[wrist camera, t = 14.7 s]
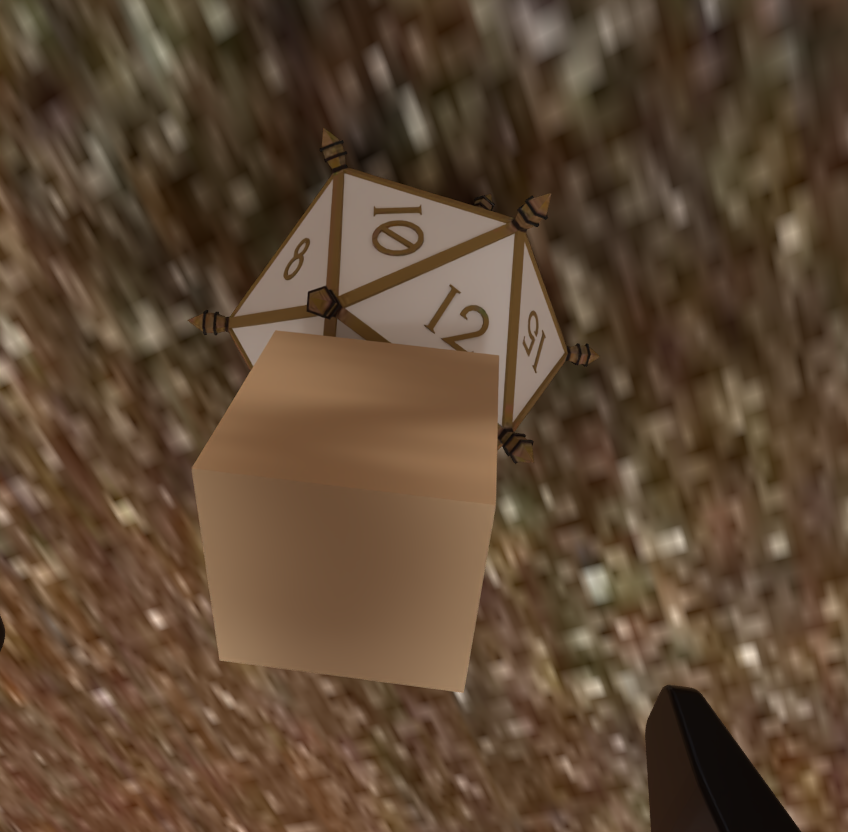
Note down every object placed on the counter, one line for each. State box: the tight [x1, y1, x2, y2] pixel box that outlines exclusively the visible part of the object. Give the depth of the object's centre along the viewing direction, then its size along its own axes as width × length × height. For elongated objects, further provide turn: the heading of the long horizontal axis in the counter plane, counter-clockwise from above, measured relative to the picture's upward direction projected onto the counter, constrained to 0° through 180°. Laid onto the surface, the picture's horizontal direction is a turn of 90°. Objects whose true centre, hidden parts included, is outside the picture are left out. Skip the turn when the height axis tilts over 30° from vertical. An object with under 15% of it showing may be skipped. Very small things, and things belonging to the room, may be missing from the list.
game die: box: [187, 127, 600, 464], centre depth 17 cm, size 9×8×10 cm
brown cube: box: [192, 330, 499, 693], centre depth 12 cm, size 4×4×4 cm
